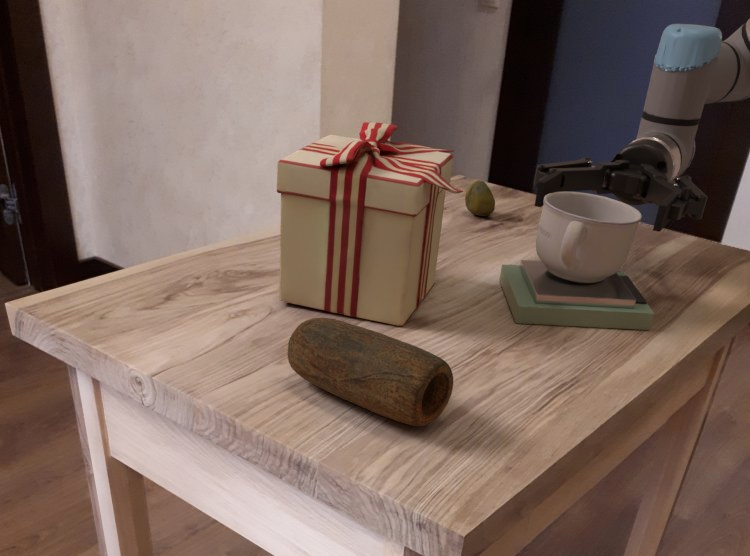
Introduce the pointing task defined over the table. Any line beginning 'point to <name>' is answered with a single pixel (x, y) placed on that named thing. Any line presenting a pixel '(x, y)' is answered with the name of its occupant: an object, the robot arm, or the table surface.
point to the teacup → (585, 235)
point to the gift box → (361, 223)
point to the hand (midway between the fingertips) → (597, 206)
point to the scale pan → (574, 289)
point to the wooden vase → (371, 370)
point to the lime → (480, 199)
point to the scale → (572, 307)
